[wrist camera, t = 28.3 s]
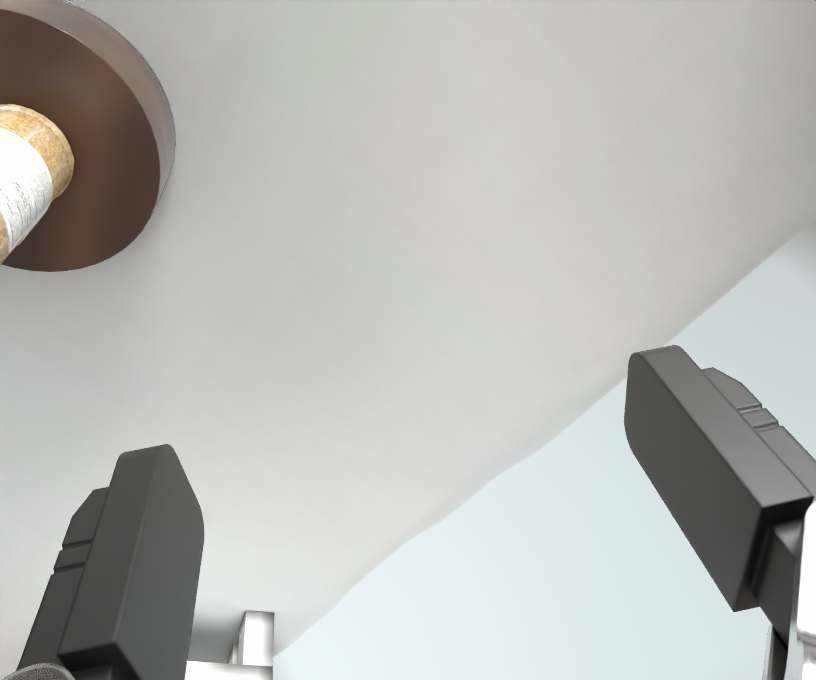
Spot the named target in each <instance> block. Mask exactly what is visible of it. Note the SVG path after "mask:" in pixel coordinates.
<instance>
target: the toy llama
mask: <svg viewBox="0 0 816 680" xmlns="http://www.w3.org/2000/svg"><path fill="white" fill-rule="evenodd" d="M273 640H274V613H268V612H257V611H246V613H245V615H244V618H243V621H242V623H241V626H240V633H239V644H233V647H232V650H231V652H230V655H229V658H228V663H212V662H196V661H187V667H186V674H185V680H273Z"/></svg>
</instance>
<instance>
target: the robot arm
mask: <svg viewBox="0 0 816 680" xmlns="http://www.w3.org/2000/svg"><path fill="white" fill-rule="evenodd" d="M624 425H625V431H626V436H627V440H628V443H629V445H630V448H631V450H632V452H633V454H634V455H635V457H636V459H637V460H638V462H639V463H640V465H641V467H642V468H643V470H644V471H645V473H646V474H647V476H648V478H649V479H650V481H651V482H652V484H653V485H654V487H655V489H656V490H657V492H658V493H659V495H660V497H661V498H662V500H663V501H664V503H665V504H666V506H667V508H668V509H669V511H670V512H671V514H672V516H673V517H674V519H675V520H676V522H677V523H678V525H679V527H680V528H681V530H682V531H683V533H684V534H685V536H686V538H687V539H688V541H689V542H690V544H691V546H692V547H693V549H694V550H695V552H696V553H697V555H698V557H699V558H700V560H701V561H702V563H703V564H704V566H705V568H706V569H707V571H708V572H709V574H710V575H711V577H712V578H713V580H714V582H715V583H716V585H717V587H718V588H719V590H720V591H721V593H722V594H723V596H724V598H725V599H726V601H727V602H728V604H729V606H730V607H731V609H732V610H733V612H737V611H742V610H746V609H751V608H755V607H761V609H762V610H763V611H764V613H765V615H766V616H767V618H768V619H769V620H770V625H769V629H768V633H767V642H766V650H765V660H764V669H763V678H762V680H816V460H815V459H814V458H813V457H812V456H811V455H810V454H809V453H808V452H807V451H806V450H805V449H804V448H803V447H802V446H801V444H799V442H798V441H797V440H796V439H795V438H794V437H793V436H792V435H791V434H790V433H789V432H788V431H787V430H786V429H785V428H784V427H783V426H779V424H778V420H777V419H776V418H775V417H774V416H773V415H772V414H771V413H770V412H769V411H768V410H767V409H766V408H764V409H763V408H762V404H761V403H760V402H759V401H758V400H757V398H756V397H754V395H753V394H752V393H751V392H750V391H749V390H748V389H747V388H746V387H745V386H744V385H743V384H742V383H741V382H739V381H737V380H735V379H733V378H732V377H730V376H728V375H726V374H724V373H722V372H721V371H719V370H717V369H715V368H713V367H712V368H708V369H703V370H701V369H700V368H699V367H698V366H697V365H696V363H695V362H694V361H693V360H692V359H691V358H690V357H689V356H688V354H687V353H686V352H685V351H684V350H683V349H682V348H681V347H679V346H677V345H672V346H667V347H662V348H657V349H652V350H647V351H641V352H636V353H633V354H632V355H631V357H630V359H629V365H628V377H627V390H626V403H625V415H624ZM203 544H204V523H203V517H202V512H201V508H200V505H199V503H198V501H197V498H196V496H195V494H194V492H193V490H192V487H191V485H190V483H189V481H188V479H187V476H186V474H185V472H184V470H183V468H182V466H181V463H180V461H179V459H178V457H177V455H176V453H175V451H174V449H173V448H172V446H171V445H169V444H164V445H159V446H154V447H149V448H144V449H139V450H134V451H129V452H124V453H122V454H121V455H120V456H119V458H118V460H117V463H116V467H115V470H114V473H113V476H112V479H111V482H110V486H109V487H106V488H101V489H96V490H93V491H92V493H91V494H90V495H89V496H88V498H87V499H86V500H85V501H84V503H83V504H82V505H81V506H80V508H79V509H78V510H77V511H76V513H75V514H74V515H73V516H72V519H71V521H70V524H69V527H68V530H67V532H66V535H65V538H64V541H63V543H62V547H63V550H61V551H60V552H59V554H58V557H57V560H56V563H55V566H54V568H53V569H54V574H52V575H51V577H50V579H49V582H48V585H47V588H46V590H45V593H44V596H43V599H42V602H41V604H40V607H39V610H38V613H37V615H36V618H35V621H34V624H33V626H32V629H31V632H30V635H29V638H28V640H27V643H26V646H25V649H24V651H23V654H22V657H21V660H20V662H19V665H18V667H17V669H16V672H14V673H12V674H10V675H8V676H7V677H5V678H4V679H2V680H185V674H186V667H187V659H188V652H189V645H190V638H191V630H192V623H193V616H194V609H195V602H196V594H197V587H198V580H199V573H200V565H201V558H202V551H203Z"/></svg>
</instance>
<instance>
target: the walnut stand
mask: <svg viewBox="0 0 816 680" xmlns="http://www.w3.org/2000/svg"><path fill="white" fill-rule="evenodd" d="M0 104H4V105H8V104H14V105H19V106H23V107H25V108H29V109H32V110H34V111H36V112H37V113H39V114H41V115H43V116H45V117H46V118H48V119H49V120H50V121H52V122H53V123H55V125H56V126H57V127H58V128H59V130H60V131H61V132H62V133H63V134H64V136H65V138H66V139H67V141H68V143H69V145H70V148H71V151H72V154H73V157H74V170H73V176H72V179H71V181H70V183H69V185H68V187H67V188H66V189H65V190H64V192H63V193H62V194H61V195H59V196H58V197H56V198H55V199H54V200H53V201H52V202H51V203H50V205H49V208H48V209H47V211H46V213H45V214H44V215H43V216H42V218H41V219H40V220H39V221H38V222H37V224H36V225H35V226H34V227H33V228H32V230H31V231H30V232H29V233H28V235H27V236H26V237H25V239H24V240H23V241H22V242H21V243H20V244H19V245H18V246H16V247H15V248H14V249H13V251H12V252H11V253H10V254H9V255H8V256H7V257H6V259H5V260H4V261H3V262H2V265H6V266H10V267H13V268H19V269H25V270H31V271H45V272H53V271H68V270H74V269H80V268H84V267H88V266H91V265H94V264H97V263H100V262H102V261H104V260H106V259H109V258H111V257H112V256H114V255H115V254H117V253H119V252H120V251H122V250H123V249H124V248H125V247H127V246H128V245H129V244H130V243H131V242H133V241H134V239H135V238H136V237H137V236H138V235H139V234H140V233H141V231H142V230H143V229H144V227H145V225H146V224H147V222H148V221H149V219H150V217H151V215H152V213H153V211H154V208H155V206H156V204H157V202H158V200H159V197H160V195H161V193H162V191H163V189H164V187H165V184H166V182H167V180H168V177H169V175H170V173H171V169H172V165H173V161H174V156H175V146H176V142H175V127H174V121H173V115H172V112H171V109H170V105H169V102H168V99H167V97H166V95H165V92H164V90H163V88H162V85H161V84H160V82H159V80H158V78H157V77H156V75H155V73H154V72H153V70H152V68H151V67H150V66H149V64H148V63H147V62H146V60H145V59H144V58H143V56H142V55H141V54H140V53H139V52H138V51H137V50H136V49H135V48H134V47H133V45H132V44H131V43H130V42H129V41H128V40H126V39H125V38H124V37H123V36H122V35H121V34H120V33H118V32H117V31H116V30H115V29H114V28H112V27H111V26H109V25H108V24H106V23H105V22H103V21H102V20H101V19H99V18H97V17H96V16H94V15H92V14H90V13H88V12H86V11H84V10H83V9H80V8H78V7H76V6H73V5H71V4H68V3H66V2H63V1H59V0H0Z"/></svg>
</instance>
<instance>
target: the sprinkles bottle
mask: <svg viewBox="0 0 816 680" xmlns="http://www.w3.org/2000/svg"><path fill="white" fill-rule="evenodd" d="M73 170H74V157H73V154H72V151H71V148H70V145H69V143H68V141H67V139H66V138H65V136H64V134H63V133H62V132H61V131H60V130H59V128H58V127H57V126H56V125H55V123H53V122H52V121H50V120H49V119H48V118H46V117H45V116H43V115H41V114H39V113H37V112H36V111H34V110H32V109H29V108H25V107H23V106H19V105H14V104H8V105H4V104H0V265H1V264H2V262H3V261H4V260H5V259H6V257H7V256H8V255H9V254H10V253H11V252H12V251H13V249H14V248H15V247H16V246H18V245H19V244H20V243H21V242H22V241H23V240H24V239H25V237H26V236H27V235H28V233H29V232H30V231H31V230H32V228H33V227H34V226H35V225H36V224H37V222H38V221H39V220H40V219H41V218H42V216H43V215H44V214H45V213H46V211H47V209H48V208H49V205H50V203H51V202H52V201H53V200H54V199H55V198H56V197H58V196H59V195H61V194H62V193H63V192H64V190H65V189H66V188H67V187H68V185H69V183H70V181H71V179H72V176H73Z"/></svg>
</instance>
